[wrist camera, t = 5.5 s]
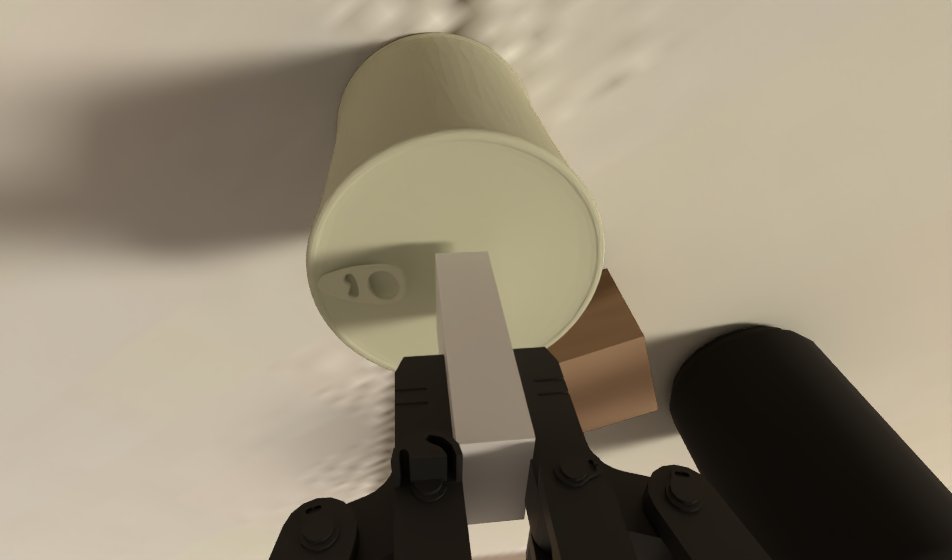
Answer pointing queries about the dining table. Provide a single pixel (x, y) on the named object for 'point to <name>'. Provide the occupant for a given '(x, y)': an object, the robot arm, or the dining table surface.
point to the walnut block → (606, 361)
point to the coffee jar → (805, 453)
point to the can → (446, 202)
